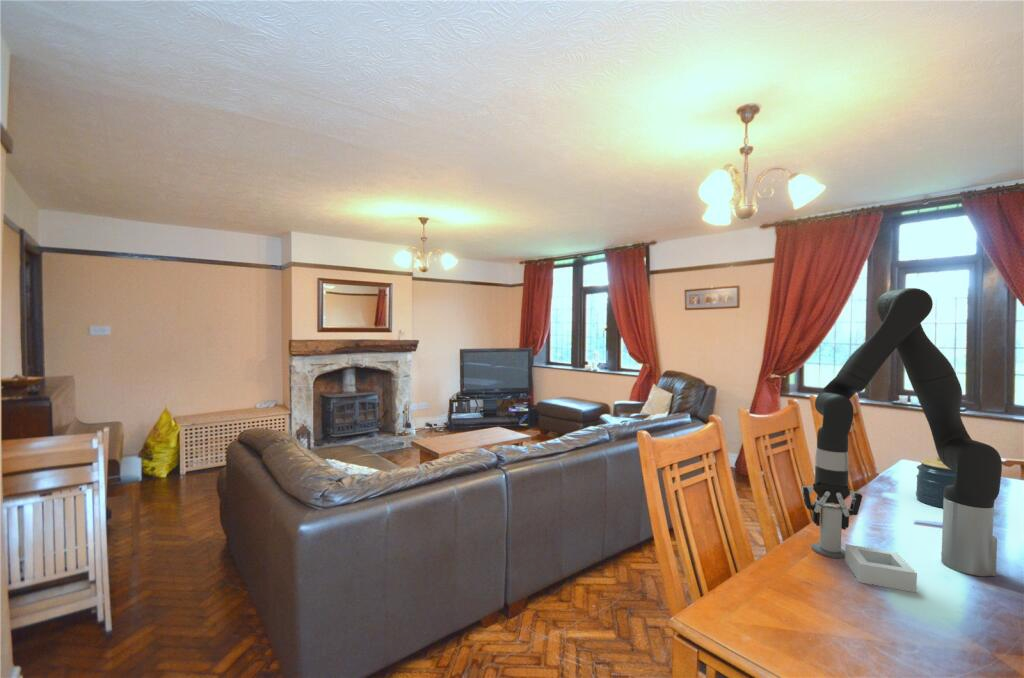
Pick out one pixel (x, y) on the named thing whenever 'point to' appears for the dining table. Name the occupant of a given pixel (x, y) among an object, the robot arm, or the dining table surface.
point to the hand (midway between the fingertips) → (829, 526)
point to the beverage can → (831, 528)
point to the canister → (933, 481)
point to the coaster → (820, 551)
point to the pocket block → (880, 568)
